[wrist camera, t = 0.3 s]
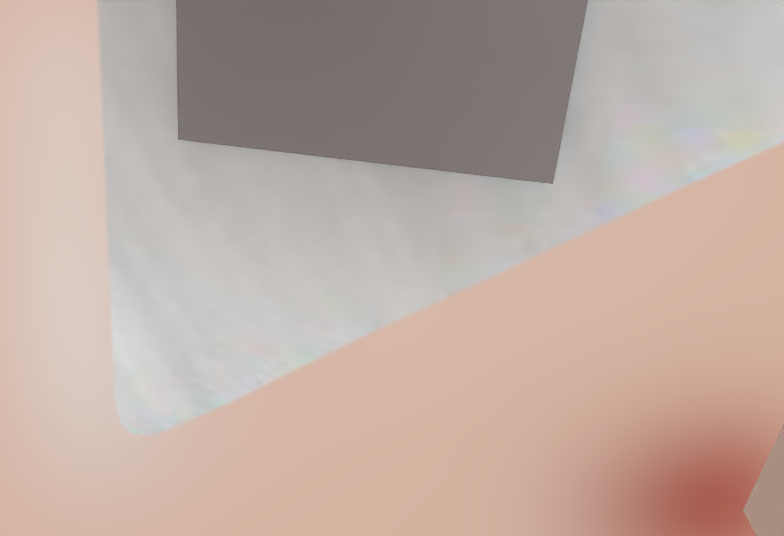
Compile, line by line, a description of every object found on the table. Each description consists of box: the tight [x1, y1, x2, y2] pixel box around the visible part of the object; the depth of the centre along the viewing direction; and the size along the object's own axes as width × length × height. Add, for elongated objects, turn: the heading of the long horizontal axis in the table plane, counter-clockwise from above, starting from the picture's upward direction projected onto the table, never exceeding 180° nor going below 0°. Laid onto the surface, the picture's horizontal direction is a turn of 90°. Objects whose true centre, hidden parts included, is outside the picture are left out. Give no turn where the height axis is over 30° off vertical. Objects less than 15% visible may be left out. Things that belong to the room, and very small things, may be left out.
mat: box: [176, 0, 588, 184], centre depth 35 cm, size 16×20×1 cm
